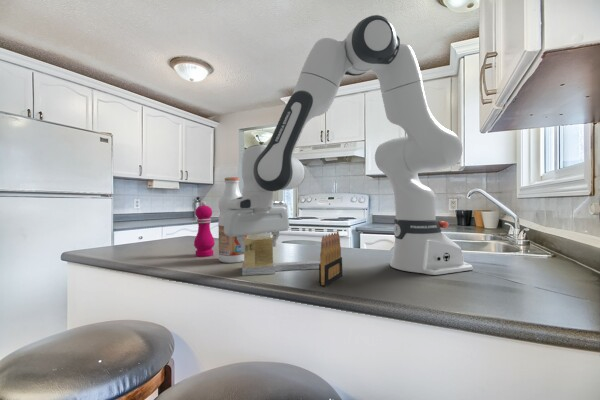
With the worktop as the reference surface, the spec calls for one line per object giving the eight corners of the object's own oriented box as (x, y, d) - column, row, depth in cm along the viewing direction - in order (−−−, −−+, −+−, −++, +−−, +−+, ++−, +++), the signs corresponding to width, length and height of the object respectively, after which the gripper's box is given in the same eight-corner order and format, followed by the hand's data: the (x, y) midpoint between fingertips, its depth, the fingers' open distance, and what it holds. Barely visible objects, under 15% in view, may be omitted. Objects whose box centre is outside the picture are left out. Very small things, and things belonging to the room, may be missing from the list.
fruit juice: (224, 257, 106) (222, 178, 105) (250, 257, 105) (249, 178, 105) (214, 263, 96) (213, 177, 96) (243, 263, 96) (242, 176, 95)
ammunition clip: (325, 286, 70) (325, 236, 70) (318, 285, 71) (318, 235, 71) (342, 275, 79) (342, 231, 79) (336, 275, 80) (335, 231, 80)
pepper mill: (197, 258, 105) (196, 201, 104) (191, 255, 110) (190, 201, 110) (217, 255, 109) (216, 201, 109) (210, 252, 115) (209, 200, 114)
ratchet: (328, 263, 94) (327, 242, 94) (336, 270, 85) (336, 247, 85) (243, 267, 90) (242, 246, 90) (242, 275, 81) (241, 251, 81)
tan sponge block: (261, 260, 90) (261, 235, 90) (272, 263, 86) (272, 237, 86) (244, 263, 87) (243, 237, 86) (254, 267, 82) (254, 240, 82)
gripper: (280, 200, 95) (281, 243, 95) (220, 202, 82) (222, 252, 83) (292, 200, 90) (293, 245, 91) (230, 203, 77) (232, 255, 78)
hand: (259, 249), depth 86 cm, fingers open, 8 cm apart
